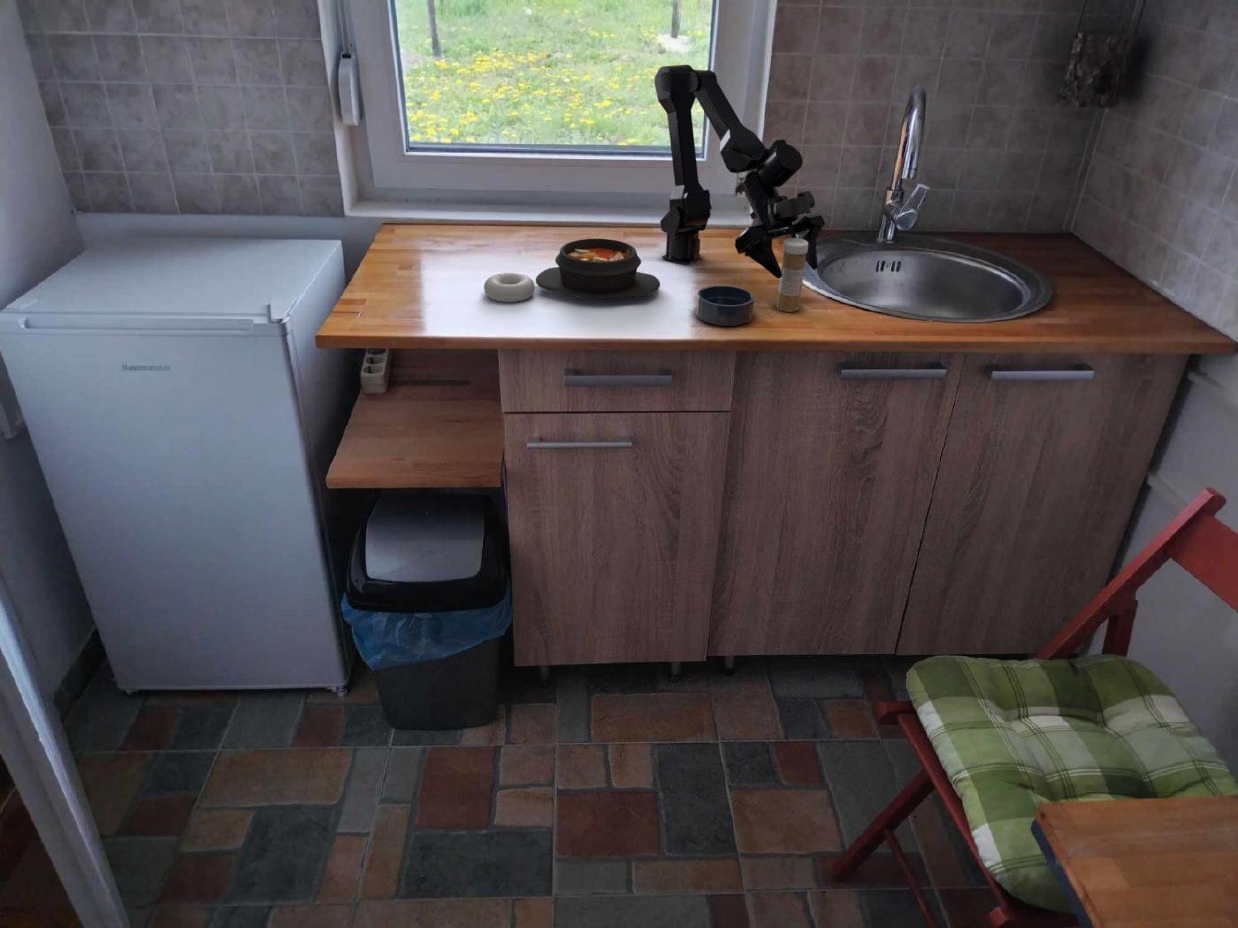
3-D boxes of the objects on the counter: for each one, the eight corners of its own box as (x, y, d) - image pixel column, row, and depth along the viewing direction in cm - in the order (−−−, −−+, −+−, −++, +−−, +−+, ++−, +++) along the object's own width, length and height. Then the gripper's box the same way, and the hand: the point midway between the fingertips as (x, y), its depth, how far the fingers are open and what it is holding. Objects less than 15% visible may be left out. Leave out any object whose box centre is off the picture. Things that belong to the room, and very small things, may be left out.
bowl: (686, 319, 173) (688, 298, 171) (710, 302, 181) (712, 281, 178) (738, 331, 168) (740, 310, 166) (760, 313, 176) (763, 292, 174)
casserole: (664, 279, 191) (666, 239, 187) (654, 312, 175) (656, 270, 171) (546, 270, 194) (545, 231, 189) (526, 302, 178) (525, 260, 174)
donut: (522, 308, 176) (543, 290, 184) (521, 291, 174) (542, 273, 182) (475, 301, 178) (497, 283, 186) (474, 284, 177) (496, 266, 185)
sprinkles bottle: (781, 302, 181) (790, 235, 174) (803, 307, 179) (812, 240, 172) (771, 309, 178) (780, 241, 171) (793, 314, 176) (802, 246, 169)
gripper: (751, 183, 164) (786, 261, 162) (825, 171, 173) (859, 244, 171) (719, 216, 174) (752, 289, 172) (791, 202, 183) (823, 272, 181)
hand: (798, 273), depth 174 cm, fingers open, 9 cm apart
